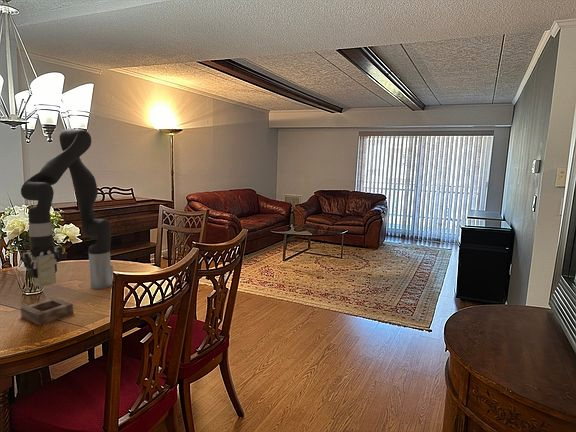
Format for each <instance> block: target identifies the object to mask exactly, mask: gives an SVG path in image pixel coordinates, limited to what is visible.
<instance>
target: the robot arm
mask: <svg viewBox="0 0 576 432" xmlns="http://www.w3.org/2000/svg"><path fill="white" fill-rule="evenodd" d="M59 143H60V147H61V150H62V152H60V153H59V154H56V155H54V156H53V157H52V158H50V159H49V160H48V161H47V162H46V163H45V164H44V165H43V166H42V168H41V169H40V171H38V172H37V173H35V174H34V175H32V176H31V177H30V178H28V179H27V180H25V182H24V183H23V184H22V186H21V188H20V194H21V197H22V198H23V199H25V200H27V201H36V202H37V204H36V206H33V207H29V208H28V210H27V211H28V213H27V214H28V215H27V216H28V234H29V245H30V250H29V251H28V252H22V253H21V257H22V262H23V265H24V268H26V269H28V270H29V269H30V273H31V274H30V275H31V277H32V278H33V279H34V278H38V273H37V269H36V268H37V263H38V259H36V261H35V260H34V259H33V258H31V256H33V257H35V258H36V257H37V256H38V257H39V256H43V255H47V254H48V255H50V254H52V253H53V254H54V261H55V274H56V273H57V271H58V267H57V264H58V263H59V262H62V260H63V259H62V258H63V255H62V254H63V248H62V246H58V245H57V246H54V237H53V226H52V219H51V209H52V203H53V199H54V189H53V185H55V184H56V183H58V182H59V180H60V179H61V178H62V177H63V175H64V174H65V172H66V171H67V170H68V171H69V173H70V174H69V175H70V177H71V181H72V184H73V185H72V186H73V191H74V193H75V196H76V200H77V203H78V209H79V213H80V215H79V216H80V220H81V228H82V232H83V234H84V236H85V237H87V238H92V239H96V243H95V244H91V245H90V246H88V265H89V279H90V288H91V289H93V290H103V289H107V288H110V287H112V286H113V285H112V275H113V276H114V267H113V265H112V264H111V246H112V245H111V244H112V227H111V223H110V221H109V220H108V219H106V218H105V219H104V218H96V217H95V213H94V205H95V202H96V200H97V198H98V194H99V193H98V191H99V190H98V189H99V188H98V184H97V182H96V178H95V175H93V173H92V172H91V171H90V169H88V167H87V166H86V165H85V164H84V162H82V160H81V158H80V157H82V155H84V154H85V153H86V152H87V151H88V150H89V149H90V147H91V146H92V136H91V134H90V133H89V131H87V130H85V129H80V128H79V129H78V128H77V129H75V128H74V129H69V128H68V129H63V130H61V131H60V134H59ZM30 258H31V260H30Z"/></svg>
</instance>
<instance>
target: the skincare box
mask: <svg viewBox="0 0 576 432" xmlns="http://www.w3.org/2000/svg"><path fill="white" fill-rule="evenodd" d="M31 256H32V255H31ZM32 258H33V259H34V260H35V261H36V259H38V263H37V268H36V269H37V273H38V278H33V283H34V286H36V287H39V288H42V287H43V288H44V287H46V286H51V285H54V284H56V283H57V278H56V275H57V274H56V273H55V261H54V258H55V253H54V252H53V253H52V254H50V255H48V254H47V255H43V256H39V257H38V256H37V257H36V258H35V257H33V256H32ZM32 258H31V259H32Z"/></svg>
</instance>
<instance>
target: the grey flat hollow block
mask: <svg viewBox="0 0 576 432" xmlns="http://www.w3.org/2000/svg"><path fill="white" fill-rule="evenodd" d="M73 314H74V304H73V303H71V302H69V301H65V300H62V299H60V298H58V297H52V298H49V299H48V298H47V299H45V300H42V301H38V302H34V303H32V304H29V305H25V306H22V307H20V315H21V318H22V319H24V320H26V321H29V322H31V323H33V324H35V325H37V326H41V325H42V326H43V325H44V324H47V323H50V322H53V321H56V320H59V319H61V318H64V317H67V316H70V315H73Z"/></svg>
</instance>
